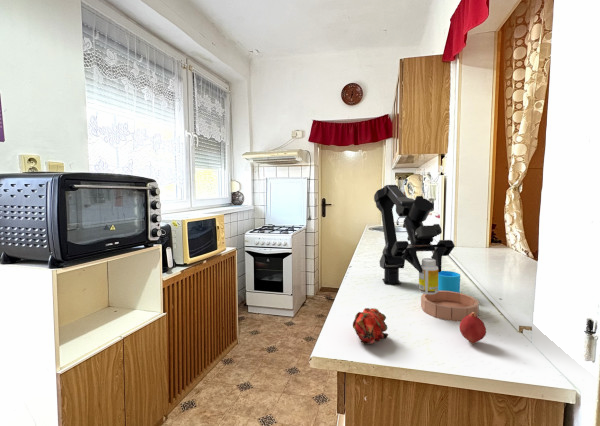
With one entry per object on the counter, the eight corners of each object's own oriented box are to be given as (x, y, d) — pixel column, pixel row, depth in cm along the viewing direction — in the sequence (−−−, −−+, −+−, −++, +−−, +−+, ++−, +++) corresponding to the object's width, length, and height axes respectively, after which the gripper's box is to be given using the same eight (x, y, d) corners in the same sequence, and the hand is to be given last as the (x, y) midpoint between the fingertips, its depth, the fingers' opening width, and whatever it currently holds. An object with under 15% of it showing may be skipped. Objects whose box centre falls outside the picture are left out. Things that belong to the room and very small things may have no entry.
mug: (460, 301, 109) (461, 277, 108) (434, 298, 112) (434, 275, 111) (458, 290, 120) (458, 269, 119) (434, 288, 123) (435, 267, 122)
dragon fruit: (374, 334, 88) (371, 363, 77) (349, 315, 89) (342, 341, 78) (393, 313, 85) (392, 340, 74) (367, 294, 86) (362, 318, 75)
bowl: (415, 301, 109) (416, 290, 109) (464, 302, 107) (465, 290, 107) (430, 320, 93) (430, 307, 93) (488, 322, 92) (488, 308, 91)
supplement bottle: (440, 291, 99) (440, 259, 98) (435, 296, 95) (435, 262, 94) (422, 288, 103) (422, 256, 102) (416, 292, 98) (416, 260, 97)
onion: (454, 338, 82) (455, 308, 82) (475, 337, 83) (476, 307, 82) (468, 349, 76) (469, 317, 76) (490, 348, 77) (491, 316, 76)
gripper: (395, 215, 100) (408, 258, 90) (452, 214, 101) (472, 256, 91) (386, 236, 108) (397, 277, 98) (439, 235, 110) (456, 275, 100)
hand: (430, 271), depth 97 cm, fingers closed on supplement bottle, 6 cm apart
